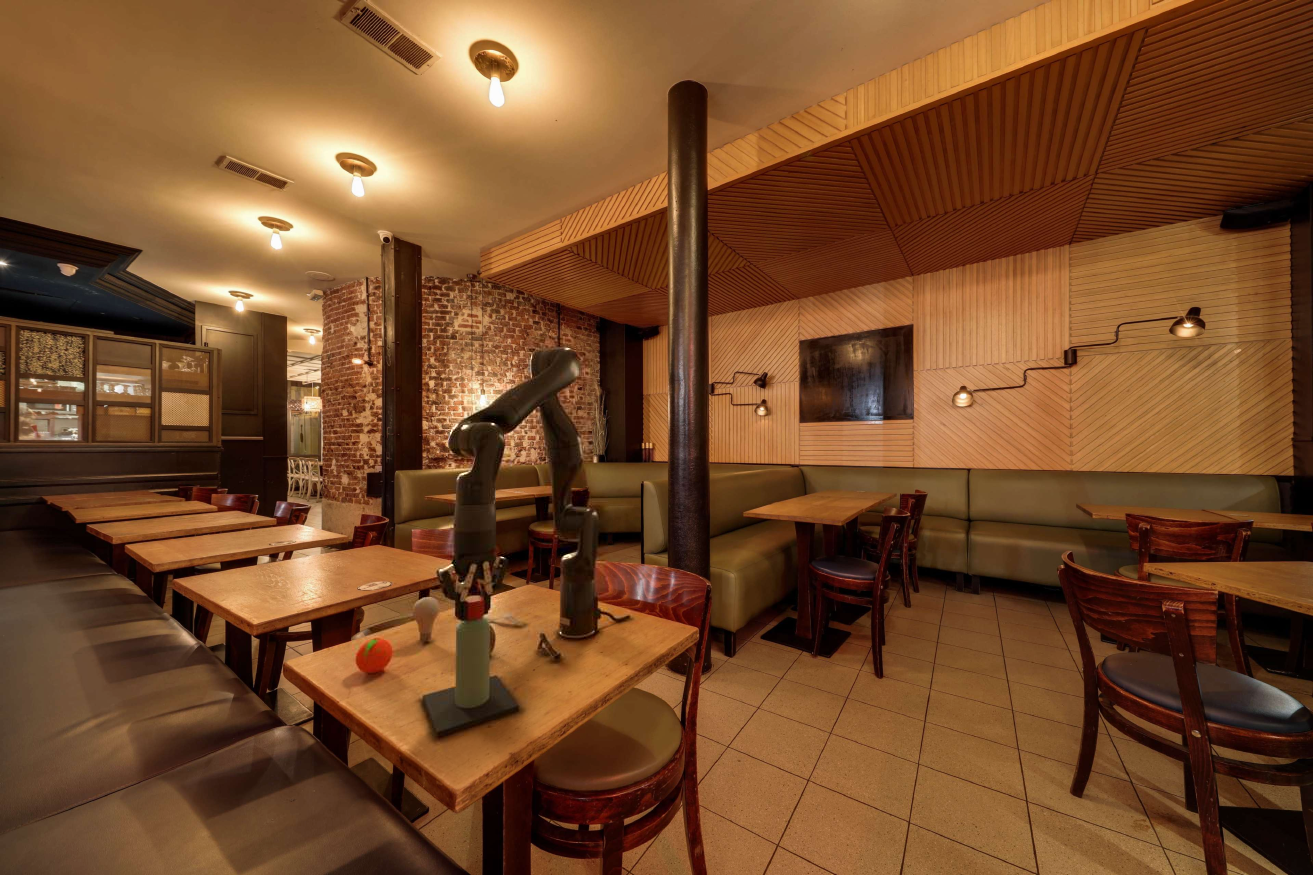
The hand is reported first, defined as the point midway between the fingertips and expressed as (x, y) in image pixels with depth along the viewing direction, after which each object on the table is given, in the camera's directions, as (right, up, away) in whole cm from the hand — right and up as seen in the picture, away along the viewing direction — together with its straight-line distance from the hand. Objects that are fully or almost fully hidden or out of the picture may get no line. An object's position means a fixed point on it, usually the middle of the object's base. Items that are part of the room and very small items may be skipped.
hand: (473, 616), depth 87 cm
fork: (-12, -18, +42) cm, 47 cm away
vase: (-6, -17, +20) cm, 27 cm away
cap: (0, 0, 0) cm, 0 cm away
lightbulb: (-23, -17, +28) cm, 40 cm away
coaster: (0, -17, 0) cm, 17 cm away
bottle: (0, -16, 0) cm, 16 cm away
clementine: (-26, -17, +12) cm, 34 cm away
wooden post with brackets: (+9, -18, +20) cm, 28 cm away
